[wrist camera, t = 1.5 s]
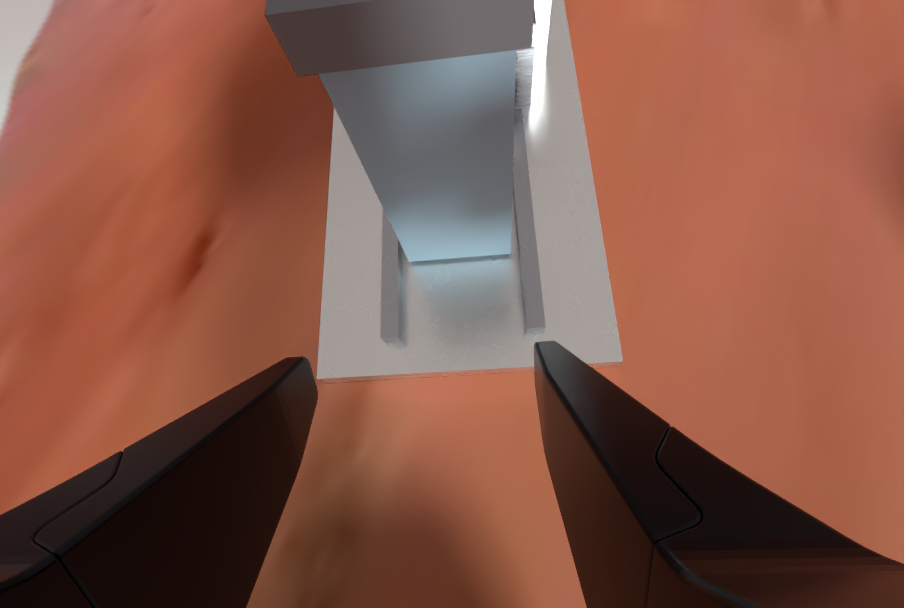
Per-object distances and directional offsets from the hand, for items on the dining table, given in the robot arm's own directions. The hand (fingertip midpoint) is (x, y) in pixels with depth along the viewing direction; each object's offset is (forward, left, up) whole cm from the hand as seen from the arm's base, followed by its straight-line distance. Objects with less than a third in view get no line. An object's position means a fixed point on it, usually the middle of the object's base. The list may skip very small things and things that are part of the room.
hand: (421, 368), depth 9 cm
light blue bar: (+9, -7, -11) cm, 16 cm away
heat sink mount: (+11, -9, -13) cm, 19 cm away
